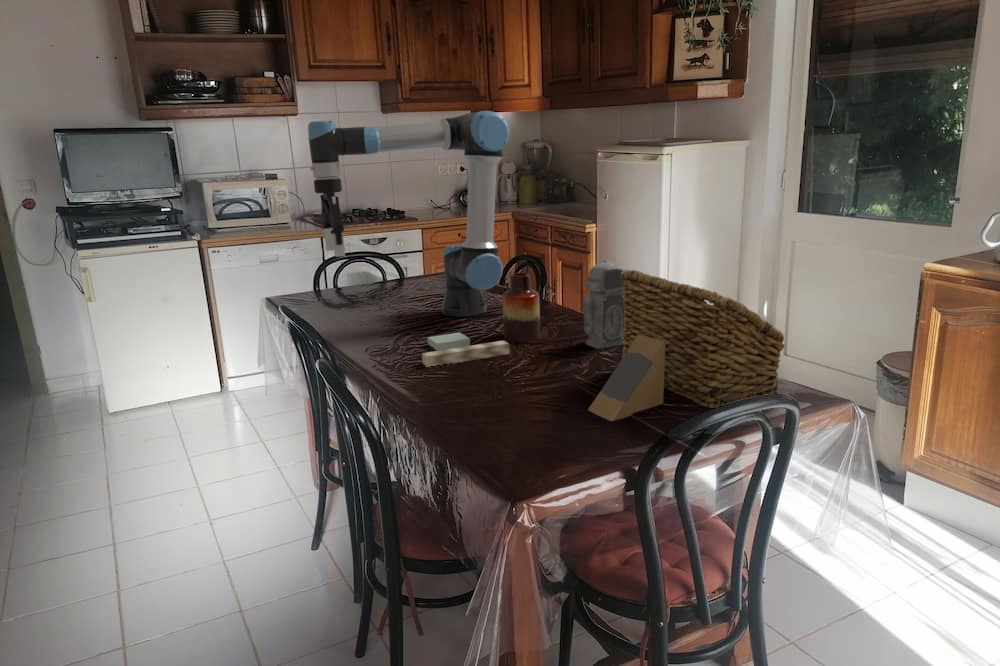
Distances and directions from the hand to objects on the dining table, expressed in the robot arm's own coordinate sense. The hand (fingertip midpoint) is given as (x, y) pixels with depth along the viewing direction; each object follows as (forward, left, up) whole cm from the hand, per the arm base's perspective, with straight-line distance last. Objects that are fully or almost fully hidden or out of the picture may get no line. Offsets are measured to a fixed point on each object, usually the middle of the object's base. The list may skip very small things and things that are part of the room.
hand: (335, 253), depth 206 cm
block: (-26, +19, -29) cm, 43 cm away
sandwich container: (-44, +83, -29) cm, 98 cm away
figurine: (-66, +40, -29) cm, 82 cm away
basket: (-70, +77, -29) cm, 108 cm away
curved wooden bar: (-26, +33, -28) cm, 51 cm away
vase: (-48, +22, -29) cm, 60 cm away
